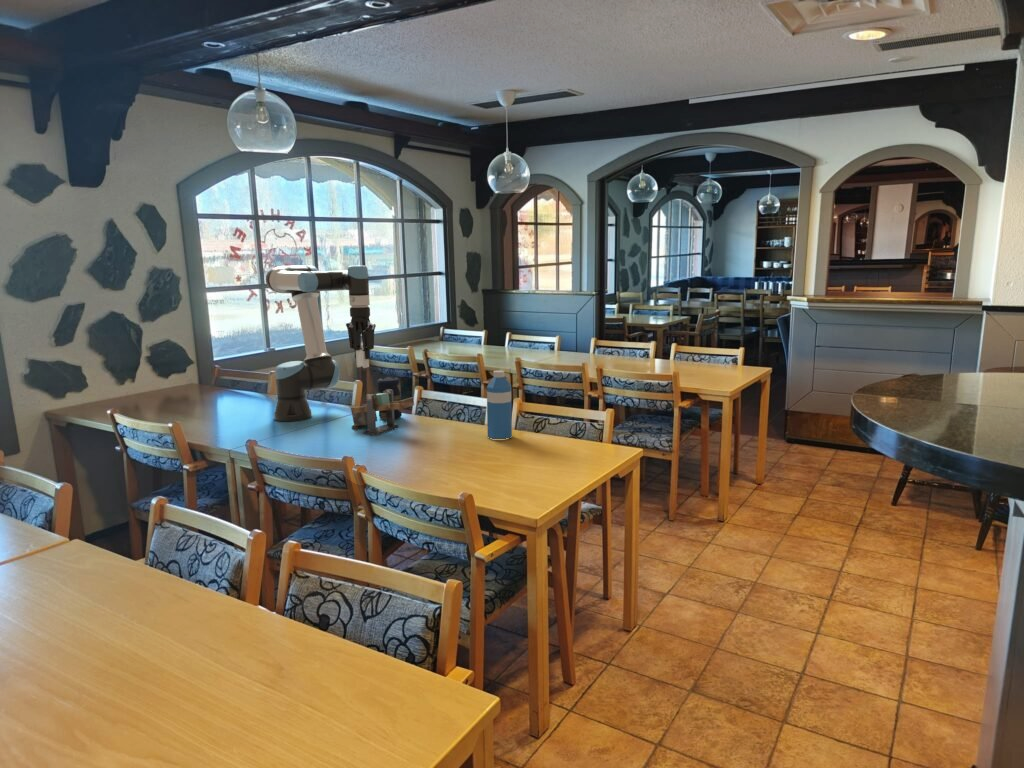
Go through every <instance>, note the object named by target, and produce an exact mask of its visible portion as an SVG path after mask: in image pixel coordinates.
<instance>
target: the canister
mask: <svg viewBox="0 0 1024 768" xmlns="http://www.w3.org/2000/svg"><path fill="white" fill-rule="evenodd" d="M376 384H377V385H376V386H377V387H376V389H377V394H380V393H383V391H385V390H386V389H390V390H393V397H394V401H401V400H402V394H401V392H402V391H401V389H402V388H401V379H400V378H398V377H397V376H396V377H395V376H389V375H387V376H384V377H381V378H379V379H377V381H376ZM402 411H403V409H395V410H394V419H395V420H397V419H400V418H401V417H402ZM378 417H379V418H380V419H381V420H386V421H387V416H386V410H383V411H378Z"/></svg>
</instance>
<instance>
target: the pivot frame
mask: <svg viewBox="0 0 1024 768" xmlns="http://www.w3.org/2000/svg"><path fill="white" fill-rule="evenodd" d="M385 391H388V392H389V395H388V396H389V401H390V402H393V401H394V397H393V390H390V389H386V390H385ZM365 398H366V399H365V401H366V403H365V404H367V422H368V427H367V430H364V431H363V434H364V435H370V436H378V435H381V433H382V434H384V432H385V433H387V432H390V431H393V430H396V429H398V427H399V428H400V425H398V424H396V422H395V420H396V419H394V410H386V416H387V420H386V423H385V424H383V425H380V426H377V423H376V422H377V421H376V420H375V400H374V395H372V394H369V393H367V394H366V395H365ZM395 428H396V429H395ZM392 429H393V430H392Z"/></svg>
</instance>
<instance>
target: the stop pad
mask: <svg viewBox="0 0 1024 768" xmlns="http://www.w3.org/2000/svg"><path fill="white" fill-rule="evenodd" d="M367 426H368V424H367V425H357V426H354V424H353V425H351V430H357V431H358V430H362V429H365V428H368V427H367Z"/></svg>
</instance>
